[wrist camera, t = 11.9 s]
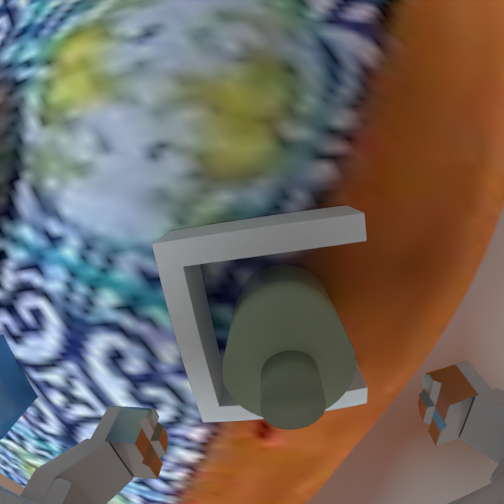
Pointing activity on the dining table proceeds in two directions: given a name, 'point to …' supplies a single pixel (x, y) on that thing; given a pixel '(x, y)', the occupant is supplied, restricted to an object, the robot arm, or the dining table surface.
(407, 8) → the dining table surface
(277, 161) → the dining table surface
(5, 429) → the perfume bottle
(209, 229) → the u rest
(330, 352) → the bottle
